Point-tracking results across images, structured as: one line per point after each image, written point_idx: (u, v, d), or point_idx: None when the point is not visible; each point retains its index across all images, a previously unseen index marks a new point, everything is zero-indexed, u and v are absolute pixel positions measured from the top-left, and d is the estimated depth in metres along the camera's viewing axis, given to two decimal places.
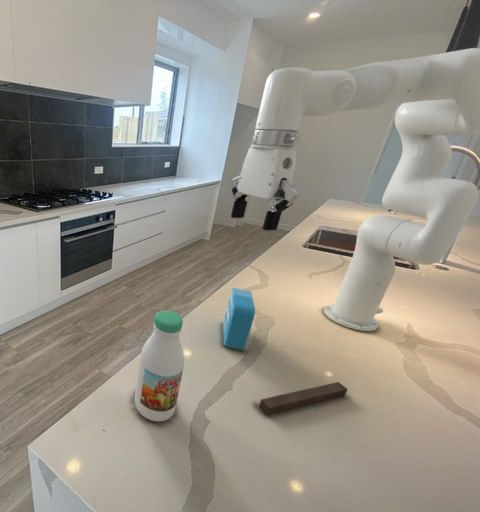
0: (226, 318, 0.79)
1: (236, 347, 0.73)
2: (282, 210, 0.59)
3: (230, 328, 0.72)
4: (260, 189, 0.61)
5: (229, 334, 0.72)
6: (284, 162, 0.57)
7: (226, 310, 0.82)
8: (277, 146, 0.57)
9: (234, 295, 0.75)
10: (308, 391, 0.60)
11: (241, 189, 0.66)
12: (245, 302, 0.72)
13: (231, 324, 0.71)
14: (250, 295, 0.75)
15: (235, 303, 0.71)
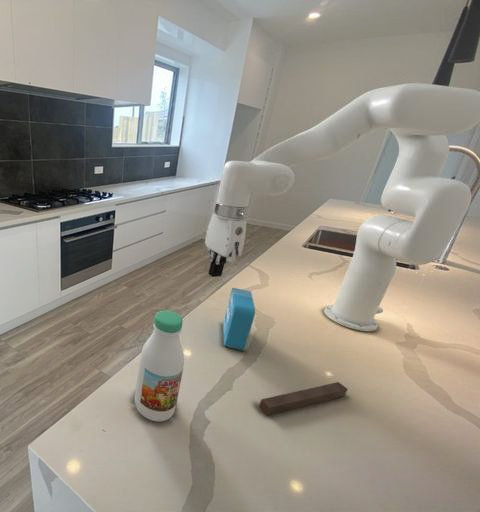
0: (226, 318, 0.79)
1: (236, 347, 0.73)
2: None
3: (230, 328, 0.72)
4: (220, 248, 0.78)
5: (229, 334, 0.72)
6: (237, 230, 0.74)
7: (226, 310, 0.82)
8: (231, 218, 0.74)
9: (234, 295, 0.75)
10: (308, 391, 0.60)
11: (207, 244, 0.83)
12: (245, 302, 0.72)
13: (231, 324, 0.71)
14: (250, 295, 0.75)
15: (235, 303, 0.71)
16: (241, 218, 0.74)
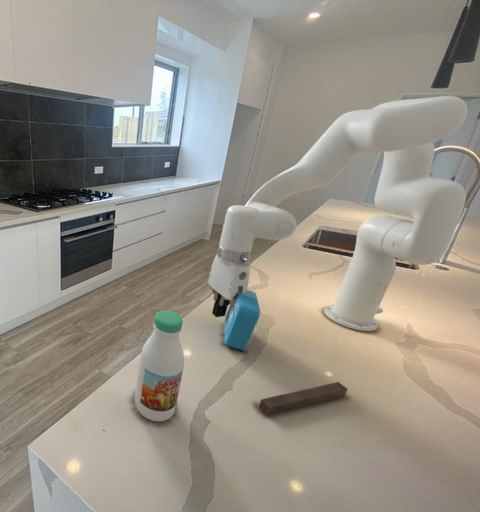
0: (228, 317, 0.79)
1: (237, 347, 0.73)
2: None
3: (233, 327, 0.71)
4: (223, 291, 0.77)
5: (231, 333, 0.72)
6: (240, 274, 0.74)
7: None
8: (234, 263, 0.73)
9: (239, 295, 0.74)
10: (308, 391, 0.60)
11: (210, 284, 0.83)
12: (250, 303, 0.71)
13: (234, 324, 0.71)
14: (255, 296, 0.75)
15: (240, 303, 0.71)
16: (244, 263, 0.74)
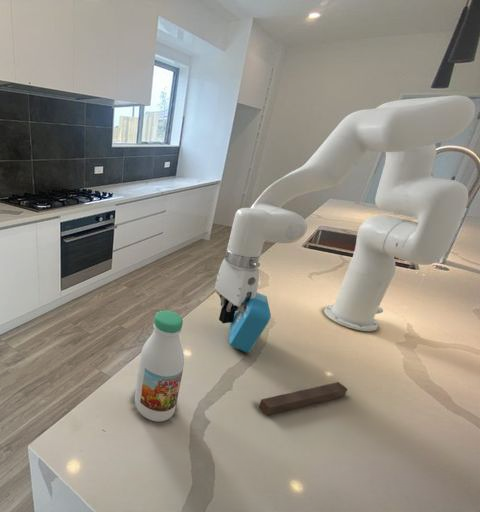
0: (235, 318, 0.78)
1: (241, 348, 0.72)
2: None
3: (240, 329, 0.70)
4: (231, 296, 0.75)
5: (238, 334, 0.71)
6: (249, 280, 0.71)
7: None
8: (243, 268, 0.71)
9: None
10: (308, 391, 0.60)
11: (217, 289, 0.80)
12: (261, 306, 0.70)
13: (242, 325, 0.70)
14: (266, 300, 0.74)
15: (251, 305, 0.69)
16: (253, 268, 0.71)
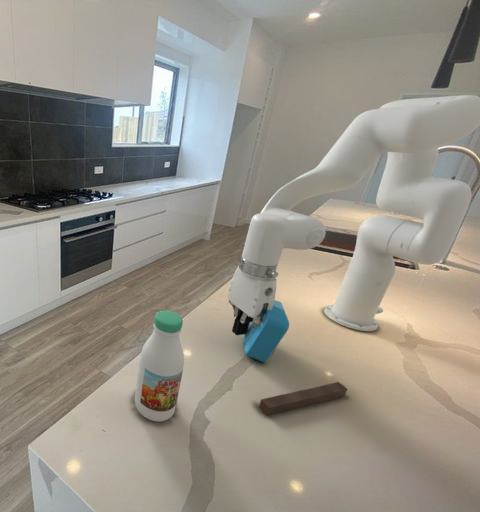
0: (249, 326, 0.75)
1: (258, 358, 0.69)
2: None
3: (257, 338, 0.67)
4: (246, 307, 0.70)
5: (254, 344, 0.68)
6: (266, 290, 0.67)
7: None
8: (260, 277, 0.66)
9: None
10: (308, 391, 0.60)
11: (230, 299, 0.75)
12: (278, 314, 0.67)
13: (260, 334, 0.67)
14: (282, 307, 0.71)
15: (269, 313, 0.67)
16: (271, 277, 0.66)
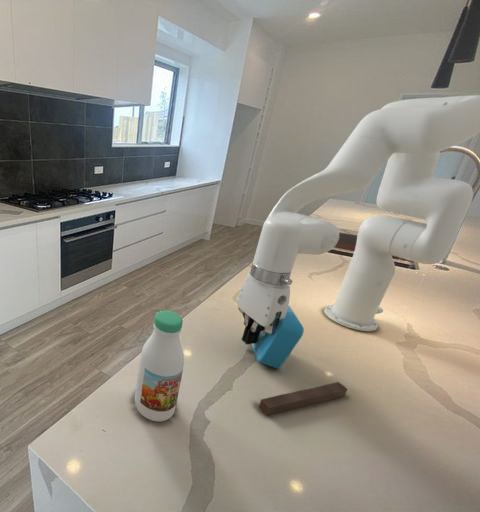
0: None
1: (272, 365, 0.67)
2: None
3: (271, 344, 0.65)
4: (257, 316, 0.67)
5: (268, 350, 0.66)
6: (279, 298, 0.63)
7: None
8: (273, 285, 0.63)
9: None
10: (308, 391, 0.60)
11: (240, 306, 0.72)
12: (290, 318, 0.66)
13: (274, 340, 0.65)
14: (291, 310, 0.70)
15: None
16: (284, 284, 0.63)
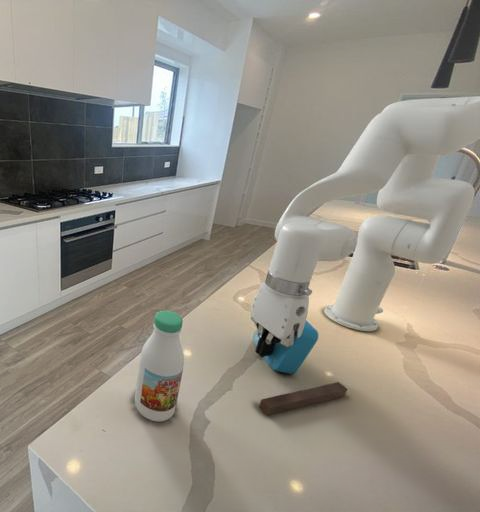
0: None
1: (287, 371, 0.65)
2: None
3: (288, 352, 0.63)
4: (273, 327, 0.63)
5: (285, 358, 0.64)
6: (297, 309, 0.59)
7: None
8: (290, 295, 0.59)
9: None
10: (308, 391, 0.60)
11: (254, 317, 0.68)
12: None
13: (291, 348, 0.63)
14: None
15: None
16: (303, 295, 0.59)
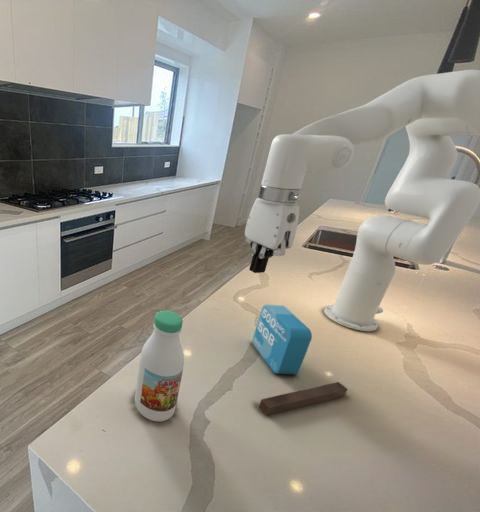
0: (263, 339, 0.71)
1: (289, 373, 0.65)
2: None
3: (285, 355, 0.64)
4: (266, 239, 0.66)
5: (284, 361, 0.64)
6: (288, 217, 0.63)
7: (257, 329, 0.74)
8: (282, 203, 0.62)
9: (277, 315, 0.67)
10: (308, 391, 0.60)
11: (248, 235, 0.71)
12: (294, 323, 0.64)
13: (287, 350, 0.63)
14: (289, 311, 0.69)
15: (288, 326, 0.63)
16: (293, 203, 0.62)
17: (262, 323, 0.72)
